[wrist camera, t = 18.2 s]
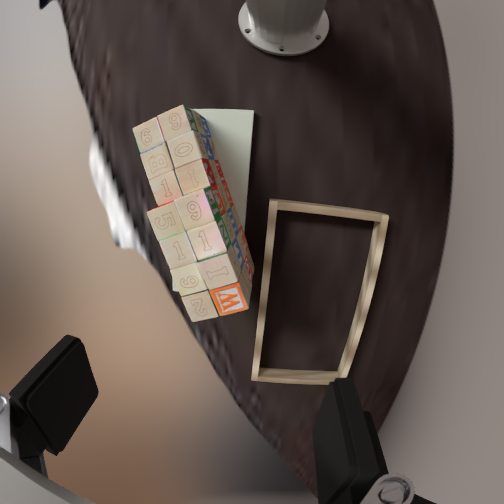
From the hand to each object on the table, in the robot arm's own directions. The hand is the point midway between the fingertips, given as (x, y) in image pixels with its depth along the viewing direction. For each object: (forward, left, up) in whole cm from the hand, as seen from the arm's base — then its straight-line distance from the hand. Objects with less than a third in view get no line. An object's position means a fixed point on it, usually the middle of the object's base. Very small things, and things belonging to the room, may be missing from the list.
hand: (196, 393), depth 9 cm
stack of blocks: (-3, -6, -30) cm, 30 cm away
